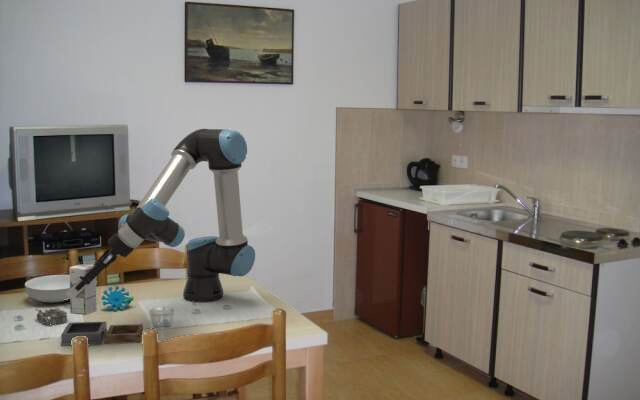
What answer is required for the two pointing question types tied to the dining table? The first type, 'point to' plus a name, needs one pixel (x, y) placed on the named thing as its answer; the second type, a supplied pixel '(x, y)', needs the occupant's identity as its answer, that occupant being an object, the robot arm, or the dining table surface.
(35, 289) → the serving bowl
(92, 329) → the dark grey square tray
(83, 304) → the syrup box
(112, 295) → the gear
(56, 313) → the grey lumpy mound
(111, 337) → the walnut collar
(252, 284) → the dining table surface
